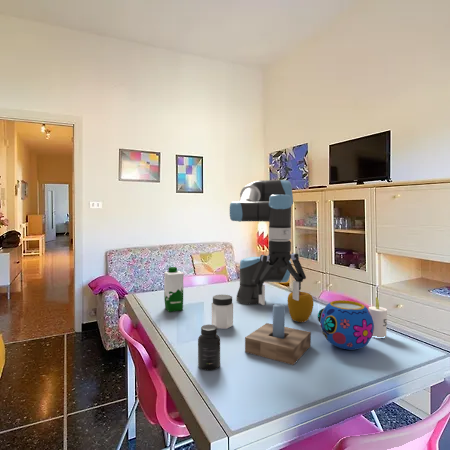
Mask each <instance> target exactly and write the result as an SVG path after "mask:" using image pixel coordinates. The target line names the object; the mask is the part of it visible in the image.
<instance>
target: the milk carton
mask: <svg viewBox="0 0 450 450" xmlns="http://www.w3.org/2000/svg"><path fill="white" fill-rule="evenodd" d="M163 273H164V274H163V275H164V281H163V282H164V286H163V287H164V296H163V297H164V308H165V310H167V312H168V313H171V312H179V311H180V312H181V311H184V273H183V272H182V271H180V270H178V267H176V266H169V267H168V271H164V272H163Z"/></svg>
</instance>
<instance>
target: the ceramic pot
mask: <svg viewBox="0 0 450 450" xmlns="http://www.w3.org/2000/svg"><path fill="white" fill-rule="evenodd" d="M317 320H318V322H319V324H320V327H321V332H322V335H324V337H325V339H326V340H327V342H329V343H330V344H331V345H333V346H335V347H337V348H339V349H342V350H348V351H351V350H359V349H362V348H365V347H366V346H367V345H368V344H369V342H370V341H371V339H372V336H373V332H374V323H373V319H372V316H371V313H370V312H369V308H368V307H366V306H365V305H364V304H362V303H360V302H356V301H353V300H352V301H351V300H346V299H344V300H342V299H341V300H340V299H339V300H334V301H333V300H332V301H330V302H329V303H328V304H326V305H325V307H324V308H321V309H320V310H319V311H318V313H317Z"/></svg>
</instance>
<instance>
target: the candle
mask: <svg viewBox="0 0 450 450" xmlns="http://www.w3.org/2000/svg"><path fill="white" fill-rule="evenodd" d="M379 301H380V300H379V298H378V297H377V296H375V306H374V305H373V306H369V307H368V310H369V312H370V313H371V316H372V319H373V323H374V332H373V336H377V337H384V336H386V337H387V322H388V316H387V315H388V309H387V308H385V307H383V306H380V302H379Z"/></svg>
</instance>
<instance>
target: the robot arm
mask: <svg viewBox="0 0 450 450" xmlns="http://www.w3.org/2000/svg"><path fill="white" fill-rule="evenodd" d="M293 204H294V196H293V188H292V183H291V181H290V180H286V179H271V180H270V179H268V180H267V179H266V180H261V179H260V180H255V181H252V182H249V183H248V184H246V185H244V186H243V187H242V189H241V190H240V193H239V200H236V201H235V200H234V201H231V202H230V204H229V219H230V220H231V221H232V222H265V223H267V222H268V254H267V255H265V254H261V255H260V256H250V257H245V258H242V259H241V260H240V263H239V286H238V287H239V288H238V290H237V294H236V299H235V300H236V302H237V303H239V304H243V305H262V306H265V305H266V304H265V303H266V301H265V299H266V291H265V290H266V286H265V284H264V283H279V284H280V283H288V282H289V280H290V277H291V276H292V278H293V279H294V280H292V292H293V299H294V300H297V301H299V291H301V289H302V286H301V285H302V283H303V281H304V280H306V279H307V277H306V274H305V271H304V269H303V266H302V264H301V261H300V257H299V254H298V253H296V252H292V253H291V251H292V242H291V239H292V206H293ZM292 263H293V265H294V267H293V265H292Z"/></svg>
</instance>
